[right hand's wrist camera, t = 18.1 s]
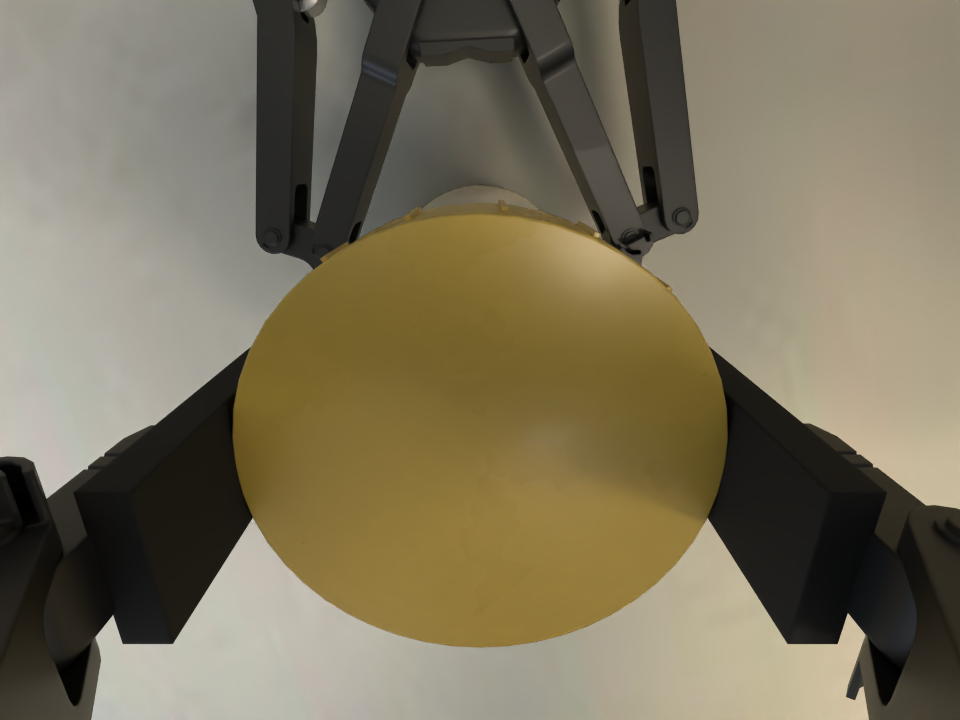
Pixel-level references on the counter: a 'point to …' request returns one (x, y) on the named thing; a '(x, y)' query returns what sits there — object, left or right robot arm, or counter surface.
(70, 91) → the counter surface
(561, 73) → the left robot arm
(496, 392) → the lid
